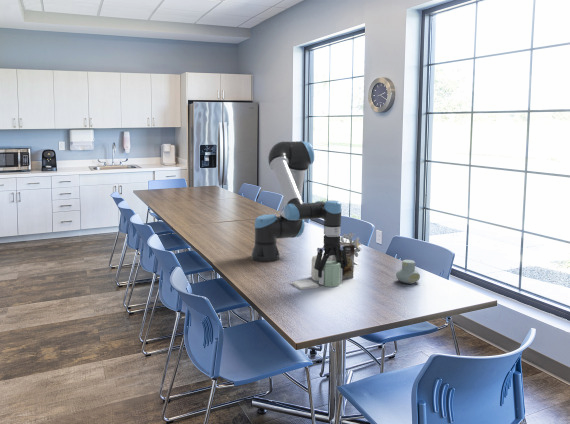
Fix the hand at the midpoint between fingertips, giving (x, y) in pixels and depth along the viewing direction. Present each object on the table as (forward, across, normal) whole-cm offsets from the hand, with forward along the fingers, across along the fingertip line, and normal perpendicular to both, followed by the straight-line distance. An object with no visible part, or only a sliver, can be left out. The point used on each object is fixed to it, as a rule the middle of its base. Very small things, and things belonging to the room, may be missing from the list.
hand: (330, 282), depth 240 cm
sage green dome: (0, 0, 0) cm, 0 cm away
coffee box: (+1, +11, +8) cm, 13 cm away
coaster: (0, -12, +2) cm, 12 cm away
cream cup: (0, 0, +10) cm, 10 cm away
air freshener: (+1, +35, -12) cm, 37 cm away
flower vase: (+1, +20, +22) cm, 30 cm away
